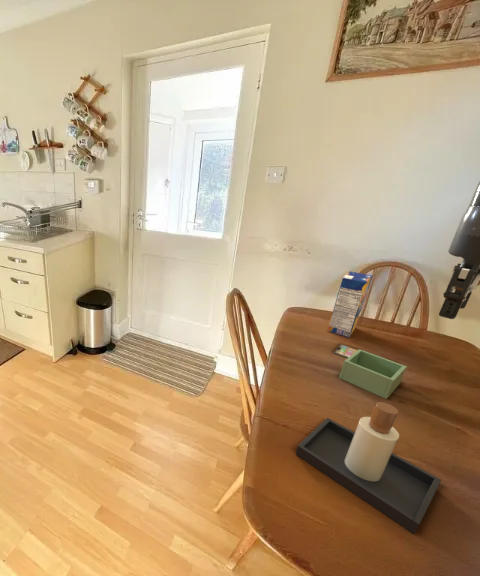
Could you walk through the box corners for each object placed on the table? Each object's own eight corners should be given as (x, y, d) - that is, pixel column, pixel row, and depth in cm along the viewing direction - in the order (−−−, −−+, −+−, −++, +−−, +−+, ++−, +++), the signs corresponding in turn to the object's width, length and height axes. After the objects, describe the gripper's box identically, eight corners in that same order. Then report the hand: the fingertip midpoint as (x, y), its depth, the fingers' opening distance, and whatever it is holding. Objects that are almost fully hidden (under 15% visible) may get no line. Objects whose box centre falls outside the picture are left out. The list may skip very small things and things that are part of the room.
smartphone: (392, 376, 95) (393, 372, 94) (333, 355, 105) (334, 352, 105) (396, 365, 100) (398, 362, 99) (340, 347, 110) (341, 344, 110)
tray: (436, 488, 62) (441, 479, 61) (414, 534, 54) (419, 524, 53) (324, 425, 77) (327, 417, 76) (295, 454, 69) (297, 445, 68)
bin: (398, 386, 90) (407, 366, 88) (385, 401, 85) (393, 380, 82) (353, 367, 99) (359, 348, 97) (338, 379, 93) (344, 360, 91)
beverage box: (326, 331, 121) (342, 277, 113) (334, 322, 128) (349, 271, 120) (348, 337, 116) (366, 282, 108) (355, 328, 123) (372, 275, 115)
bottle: (385, 471, 64) (413, 410, 59) (374, 487, 61) (402, 424, 56) (351, 451, 69) (373, 393, 63) (339, 464, 66) (362, 404, 60)
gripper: (514, 240, 51) (472, 329, 56) (525, 230, 58) (486, 310, 64) (448, 233, 56) (415, 314, 62) (465, 225, 64) (435, 298, 70)
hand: (451, 312), depth 63 cm, fingers open, 8 cm apart
